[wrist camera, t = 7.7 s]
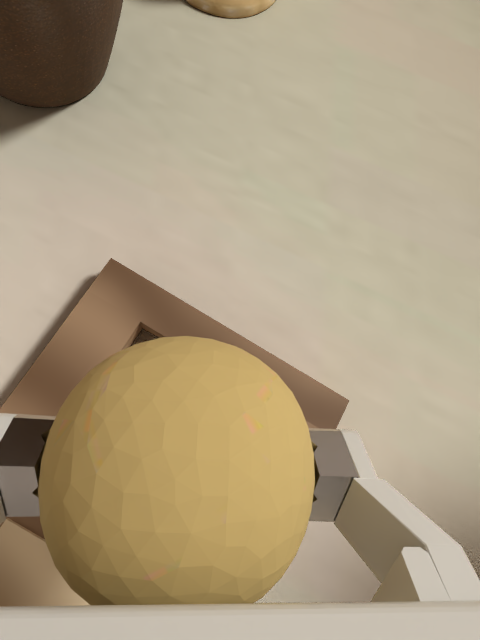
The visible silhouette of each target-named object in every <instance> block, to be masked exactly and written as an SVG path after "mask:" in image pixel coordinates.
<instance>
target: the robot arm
mask: <svg viewBox="0 0 480 640" xmlns="http://www.w3.org/2000/svg"><path fill="white" fill-rule="evenodd" d="M55 418H56V416H42V415H28V414H8V413H0V524H1V523H2V522H4V521H5V520H6V517H35V516H40V510H39V497H38V486H39V477H40V468H41V459H42V455H43V452H44V448H45V445H46V441H47V438H48V435H49V432H50V429H51V427H52V424H53V422H54V420H55ZM309 433H310V438H311V443H312V447H313V452H314V470H315V486H314V494H313V502H312V510H311V514H310V518H309V521H325V522H334V524H335V525H336V527H337V528H338V529H339V531H340V532H341V533H342V534H343V536H344V537H345V538H346V539H347V541H348V542H349V543H350V544H351V546H352V547H353V548H354V549H355V551H356V552H357V553H358V554H359V556H360V557H361V558H362V560H363V561H364V562H365V563H366V565H367V566H368V567H369V568H370V570H371V571H372V572H373V573H374V575H375V576H376V577H377V578H378V580H379V581H380V582H381V583H382V584H381V585H380V587H379V589H378V590H377V592H376V594H375V595H374V597H373V599H372V600H371V602H327V603H240V604H158V605H80V606H0V640H480V580H479V578H478V576H477V574H476V572H475V571H474V569H473V567H472V565H471V563H470V561H469V559H468V557H467V556H466V554H465V552H464V550H463V548H462V546H461V545H460V544H458V543H457V542H456V541H455V540H454V539H453V538H451V537H450V536H449V535H448V534H447V533H446V532H445V531H443V530H442V529H441V528H440V527H439V526H438V525H436V524H435V523H434V522H433V521H432V520H431V519H430V518H428V517H427V516H426V515H425V514H424V513H423V512H421V511H420V510H419V509H418V508H417V507H416V506H414V505H413V504H412V503H411V502H410V501H409V500H408V499H406V498H405V497H404V496H403V495H402V494H401V493H399V492H398V491H397V490H396V489H395V488H394V487H393V486H391V485H390V484H389V483H388V482H387V481H386V480H384V479H379V478H378V476H377V474H376V472H375V469H374V467H373V465H372V462H371V460H370V458H369V455H368V453H367V451H366V448H365V446H364V444H363V441H362V439H361V437H360V434H359V432H357V431H356V430H347V429H338V430H337V429H321V428H309Z"/></svg>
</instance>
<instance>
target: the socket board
mask: <svg viewBox="0 0 480 640" xmlns="http://www.w3.org/2000/svg"><path fill="white" fill-rule="evenodd" d="M142 328H143V329H145V330H147V331H148V332H150V333H152V334H153V335H155V336H157V337H158V338H162V337H177V336H192V337H200V338H209V339H214V340H217V341H220V342H224V343H227V344H230V345H233V346H236V347H238V348H241V349H243V350H244V351H246V352H248V353H250V354H251V355H253V356H255V357H256V358H258V359H260V360H261V361H262V362H263V363H265V364H266V365H267V366H268V367H270V368H271V369H272V370H273V371H274V372H276V373H277V374H278V375H279V377H280V378H281V379H282V380H283V382H284V383H285V384H286V385H287V386H288V388H289V389H290V390H291V391H292V393H293V395H294V396H295V398H296V400H297V402H298V404H299V406H300V408H301V410H302V412H303V415H304V417H305V420H306V423H307V425H308V428H321V429H336V428H337V425H338V423H339V421H340V419H341V417H342V415H343V413H344V411H345V409H346V406H347V404H348V402H349V400H348V399H346V398H344V397H343V396H341V395H339V394H338V393H336V392H334V391H333V390H331V389H329V388H328V387H326V386H324V385H323V384H321V383H319V382H318V381H316V380H314V379H313V378H311V377H309V376H308V375H306V374H304V373H302V372H301V371H299V370H297V369H296V368H294V367H292V366H291V365H289V364H287V363H286V362H284V361H282V360H281V359H279V358H277V357H276V356H274V355H272V354H271V353H269V352H267V351H266V350H264V349H262V348H261V347H259V346H257V345H256V344H254V343H252V342H251V341H249V340H247V339H246V338H244V337H242V336H241V335H239V334H237V333H236V332H234V331H232V330H231V329H229V328H227V327H226V326H224V325H222V324H221V323H219V322H217V321H216V320H214V319H212V318H210V317H209V316H207V315H205V314H204V313H202V312H200V311H199V310H197V309H195V308H194V307H192V306H190V305H189V304H187V303H185V302H184V301H182V300H180V299H179V298H177V297H175V296H174V295H172V294H170V293H169V292H167V291H165V290H164V289H162V288H160V287H159V286H157V285H155V284H154V283H152V282H150V281H149V280H147V279H145V278H144V277H142V276H140V275H139V274H137V273H135V272H134V271H132V270H130V269H129V268H127V267H125V266H124V265H122V264H120V263H119V262H117V261H115V260H113V259H112V258H111V259H110V260H109V262H108V263H107V264H106V266H105V267H104V268H103V270H102V271H101V272H100V274H99V275H98V277H97V278H96V279H95V281H94V282H93V283H92V285H91V286H90V287H89V289H88V290H87V291H86V293H85V294H84V296H83V297H82V298H81V300H80V301H79V302H78V304H77V305H76V306H75V308H74V309H73V310H72V312H71V313H70V315H69V316H68V317H67V319H66V320H65V321H64V323H63V324H62V325H61V327H60V328H59V329H58V331H57V332H56V334H55V335H54V336H53V338H52V339H51V340H50V342H49V343H48V344H47V346H46V347H45V348H44V350H43V351H42V353H41V354H40V355H39V357H38V358H37V359H36V361H35V362H34V363H33V365H32V366H31V367H30V369H29V370H28V372H27V373H26V374H25V376H24V377H23V378H22V380H21V381H20V382H19V384H18V385H17V387H16V388H15V389H14V391H13V392H12V393H11V395H10V396H9V397H8V399H7V400H6V401H5V403H4V404H3V406H2V407H1V408H0V413H8V414H28V415H42V416H57V414H58V412H59V409H60V408H61V406H62V405H63V403H64V402H65V400H66V399H67V397H68V395H69V394H70V392H71V391H72V390H73V389H74V388H75V387H76V385H77V384H78V383H79V382H80V381H81V380H82V379H83V378H84V377H85V376H86V374H87V373H88V372H89V371H90V370H91V369H93V368H94V367H96V366H97V365H98V364H100V363H101V362H103V361H104V360H105V359H107V358H108V357H109V356H111V355H113V354H115V353H117V352H119V351H122V350H124V349H126V348H128V347H130V346H131V345H132V343H133V342H134V340H135V339H136V337H137V336H138V334H139V333H140V331H141V330H142ZM80 605H90V604H88V603H87V602H86V601H85V600H84V599H82V598H81V597H80V596H79V595H78V594H77V593H75V592H74V591H73V590H72V589H71V588H70V587H69V585H68V584H67V583H66V581H65V580H64V578H63V577H62V575H61V574H60V573H59V571H58V570H57V568H56V567H55V565H54V562H53V560H52V557H51V555H50V552H49V550H48V547H47V545H46V542H45V538H44V534H43V530H42V526H41V522H40V516H35V517H6V520H5V521H4V522H2V523H1V524H0V606H80Z"/></svg>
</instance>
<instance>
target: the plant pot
mask: <svg viewBox="0 0 480 640" xmlns="http://www.w3.org/2000/svg"><path fill="white" fill-rule="evenodd" d="M122 3H123V0H0V95H1V96H3V97H5V98H7V99H9V100H11V101H14V102H16V103H19V104H23V105H28V106H33V107H56V106H62V105H66V104H69V103H72V102H75V101H77V100H79V99H81V98H82V97H85V96H86V95H87V94H89V93H90V92H91V91H93V90H94V89H95V88H96V86H97V85H98V84H99V83H100V81H101V80H102V78H103V76H104V74H105V71H106V68H107V65H108V62H109V58H110V55H111V51H112V47H113V43H114V39H115V35H116V31H117V27H118V22H119V18H120V13H121V8H122Z"/></svg>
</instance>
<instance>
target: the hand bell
mask: <svg viewBox="0 0 480 640" xmlns="http://www.w3.org/2000/svg"><path fill="white" fill-rule="evenodd" d="M185 1H187V2H188V3H189V4H190V5H192V6H193V7H195V8H197V9H199V10H201V11H203V12H206V13H209V14H212V15H216V16H220V17H225V18H244V17H249V16H253V15H256V14H258V13H261V12H263V11H264V10H266V9H268V8H269V7H270V6H271V5H273V3H274V2H275V1H276V0H185Z"/></svg>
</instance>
